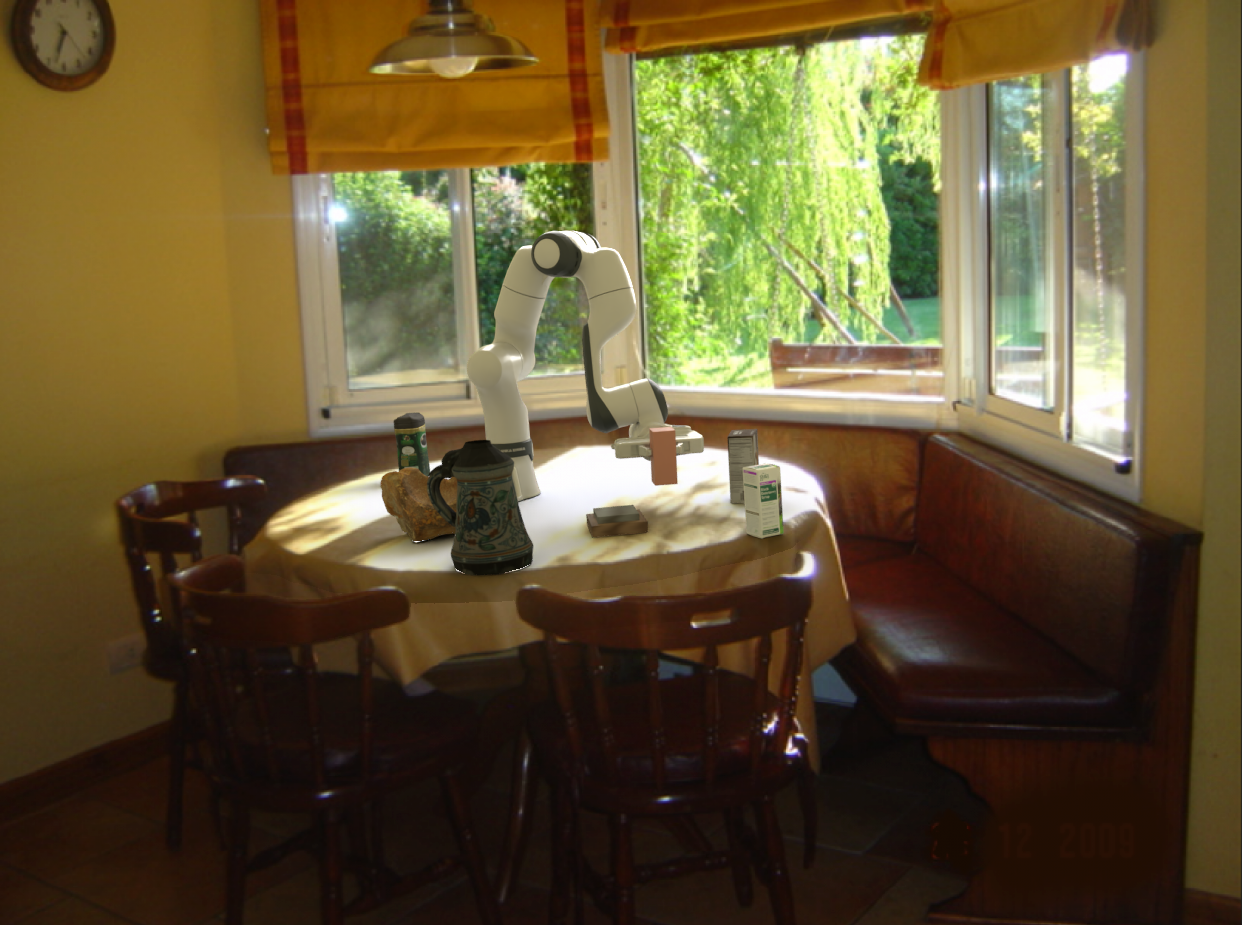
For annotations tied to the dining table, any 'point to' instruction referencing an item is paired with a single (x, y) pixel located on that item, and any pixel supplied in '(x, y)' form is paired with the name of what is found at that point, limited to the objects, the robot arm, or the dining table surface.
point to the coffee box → (741, 459)
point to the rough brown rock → (417, 503)
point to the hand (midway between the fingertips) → (663, 452)
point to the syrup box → (763, 500)
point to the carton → (663, 456)
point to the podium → (616, 521)
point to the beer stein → (482, 510)
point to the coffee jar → (412, 442)
